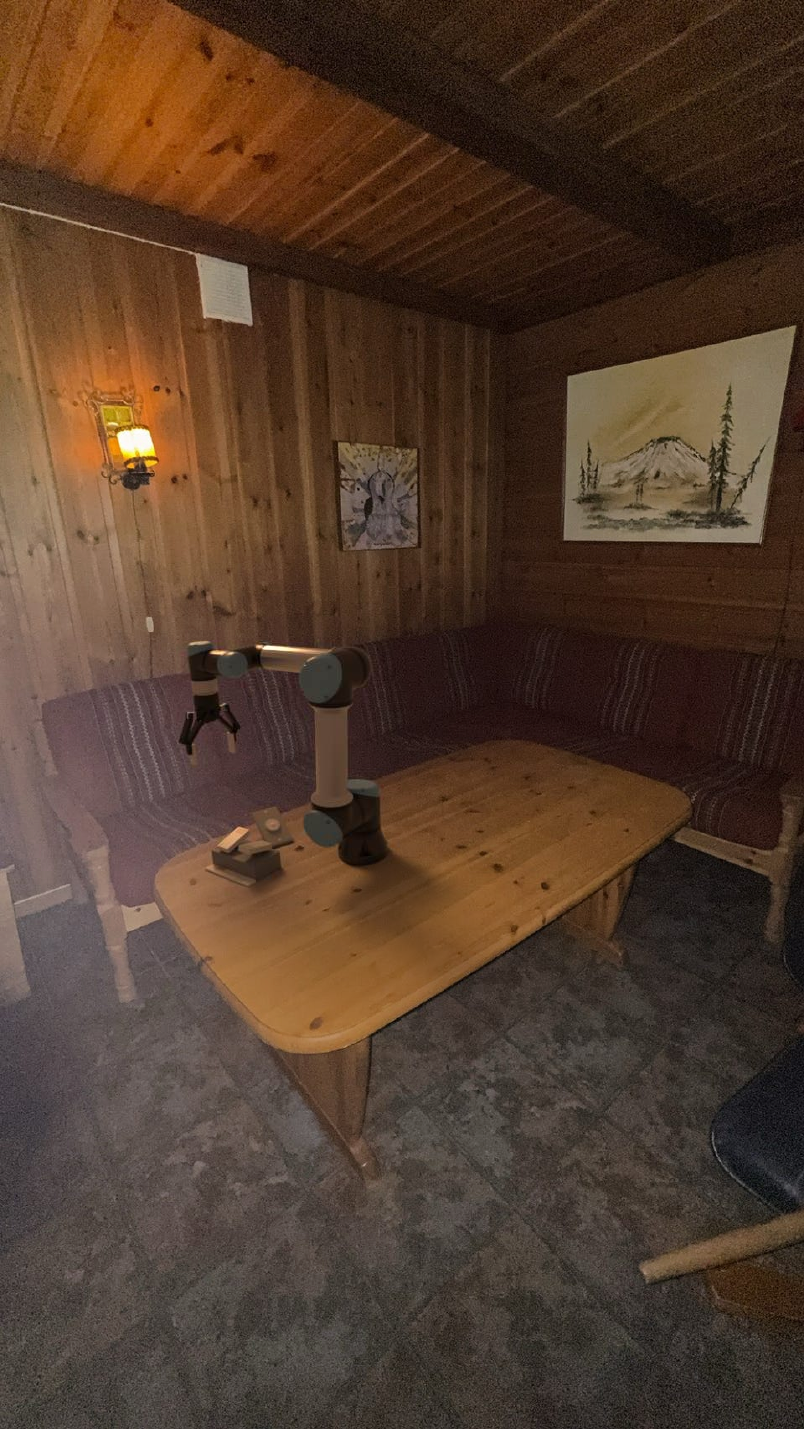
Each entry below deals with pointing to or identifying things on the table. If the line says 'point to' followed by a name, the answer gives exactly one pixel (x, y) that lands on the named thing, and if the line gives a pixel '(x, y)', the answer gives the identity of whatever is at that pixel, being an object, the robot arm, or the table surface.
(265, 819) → the light switch
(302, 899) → the table surface
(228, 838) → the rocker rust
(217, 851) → the console
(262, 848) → the rocker sage
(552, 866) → the table surface
